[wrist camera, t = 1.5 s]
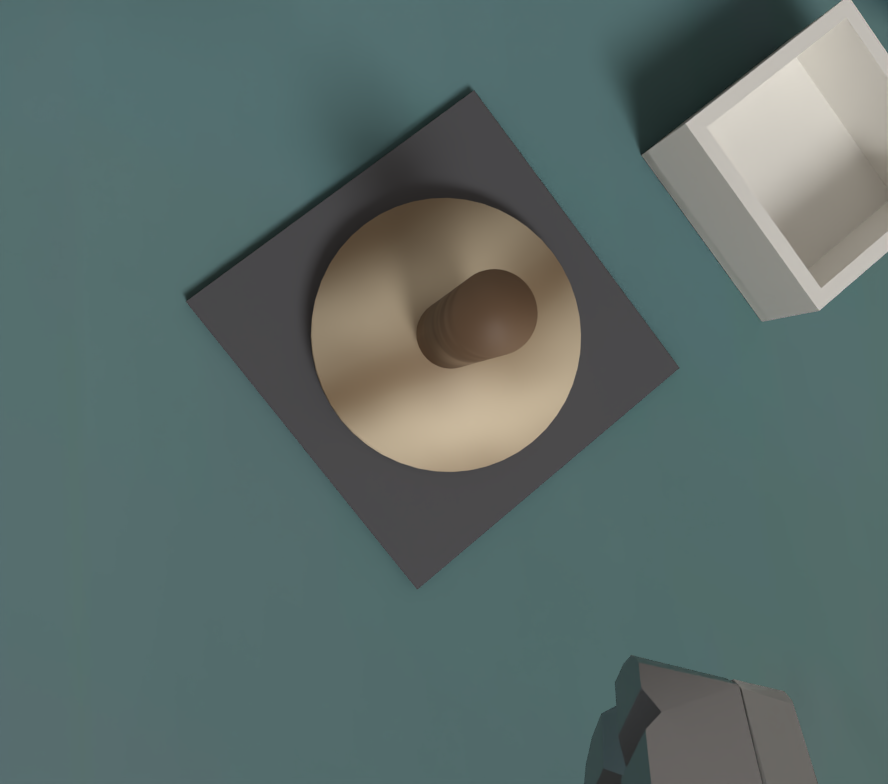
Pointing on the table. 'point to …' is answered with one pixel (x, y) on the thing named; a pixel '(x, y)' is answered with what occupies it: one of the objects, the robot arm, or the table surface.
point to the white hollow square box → (791, 167)
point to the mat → (293, 371)
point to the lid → (445, 335)
